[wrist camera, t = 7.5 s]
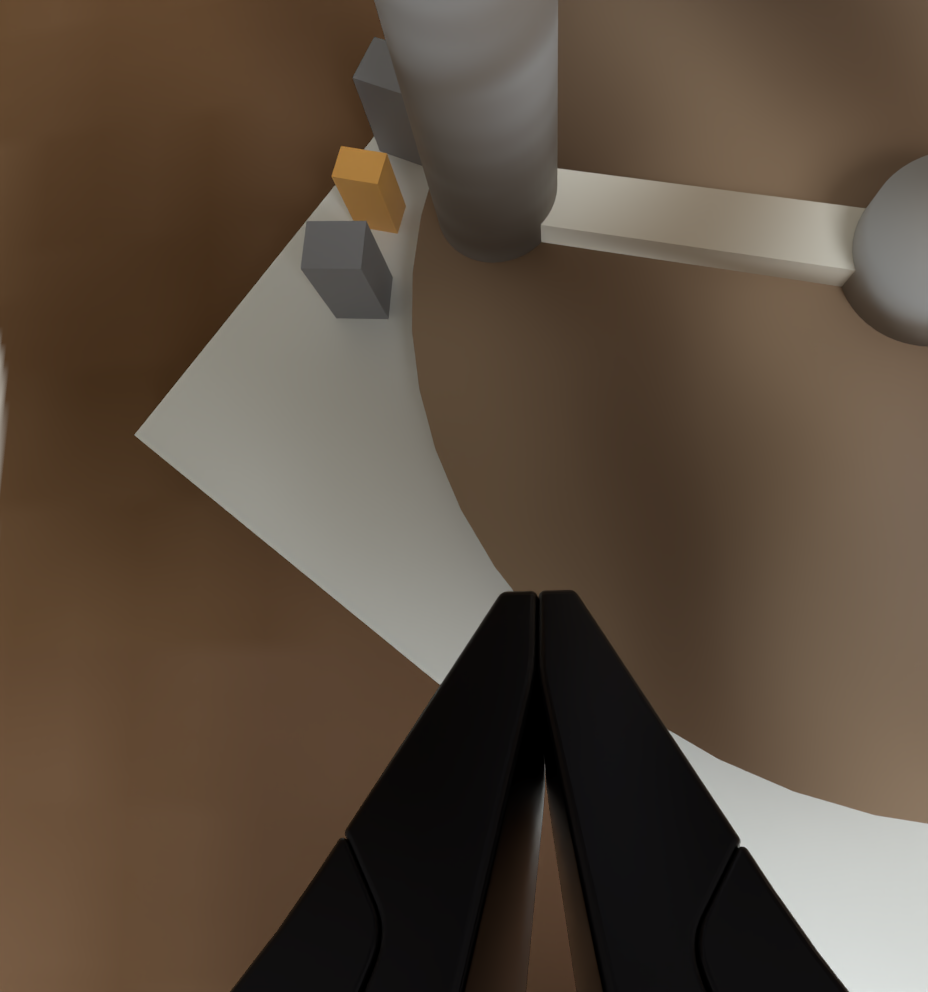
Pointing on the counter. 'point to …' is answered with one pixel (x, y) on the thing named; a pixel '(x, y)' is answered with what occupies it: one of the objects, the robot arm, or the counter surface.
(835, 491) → the dial
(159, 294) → the counter surface
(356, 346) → the base
